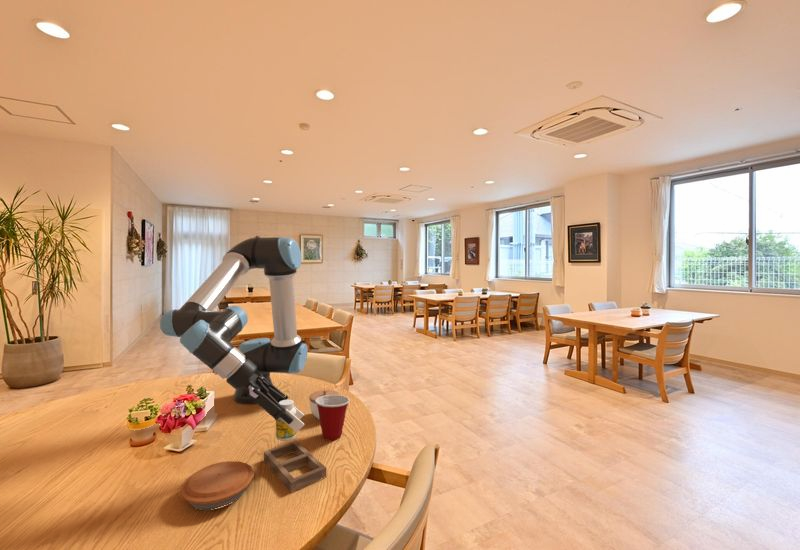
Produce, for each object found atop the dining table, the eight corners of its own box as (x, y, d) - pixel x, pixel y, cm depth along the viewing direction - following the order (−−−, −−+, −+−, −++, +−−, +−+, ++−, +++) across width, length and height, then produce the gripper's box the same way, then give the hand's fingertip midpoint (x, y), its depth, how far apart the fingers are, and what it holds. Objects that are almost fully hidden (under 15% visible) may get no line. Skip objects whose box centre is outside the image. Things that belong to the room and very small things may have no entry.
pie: (174, 526, 74) (174, 503, 74) (186, 483, 88) (186, 463, 88) (254, 507, 80) (254, 485, 80) (253, 469, 95) (253, 451, 94)
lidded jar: (343, 410, 132) (343, 385, 131) (335, 424, 121) (335, 397, 121) (315, 409, 133) (315, 384, 132) (304, 422, 122) (304, 395, 122)
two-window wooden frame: (263, 460, 99) (263, 451, 99) (296, 448, 105) (296, 440, 105) (291, 492, 85) (291, 482, 85) (326, 477, 91) (326, 467, 91)
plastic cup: (355, 430, 116) (355, 394, 116) (339, 447, 106) (339, 407, 106) (326, 425, 120) (326, 390, 119) (308, 440, 110) (308, 402, 109)
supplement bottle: (300, 433, 99) (300, 399, 99) (288, 442, 94) (288, 407, 94) (283, 430, 101) (283, 397, 100) (271, 439, 96) (271, 404, 95)
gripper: (231, 369, 101) (291, 419, 107) (217, 391, 84) (289, 450, 89) (251, 349, 103) (309, 400, 108) (241, 368, 85) (311, 427, 90)
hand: (300, 423), depth 98 cm, fingers closed on supplement bottle, 5 cm apart
